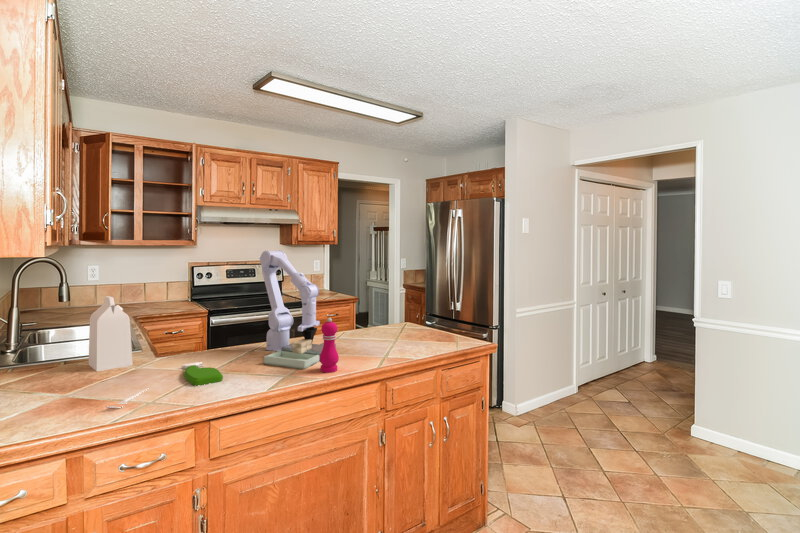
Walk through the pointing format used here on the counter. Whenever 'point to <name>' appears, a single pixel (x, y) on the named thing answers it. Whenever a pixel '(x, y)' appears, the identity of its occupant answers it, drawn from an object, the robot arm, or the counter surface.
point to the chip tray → (291, 359)
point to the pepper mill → (329, 347)
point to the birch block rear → (309, 343)
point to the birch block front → (299, 347)
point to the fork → (127, 399)
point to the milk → (109, 337)
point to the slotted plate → (314, 350)
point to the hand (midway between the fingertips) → (308, 345)
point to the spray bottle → (201, 374)
